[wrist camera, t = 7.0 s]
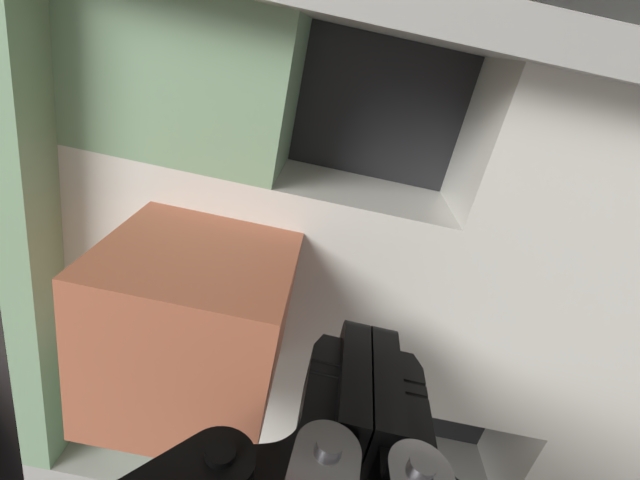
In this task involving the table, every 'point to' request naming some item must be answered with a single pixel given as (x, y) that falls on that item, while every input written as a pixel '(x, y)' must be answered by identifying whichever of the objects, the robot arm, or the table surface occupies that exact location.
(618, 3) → the table surface
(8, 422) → the table surface
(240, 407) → the block
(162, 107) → the box
